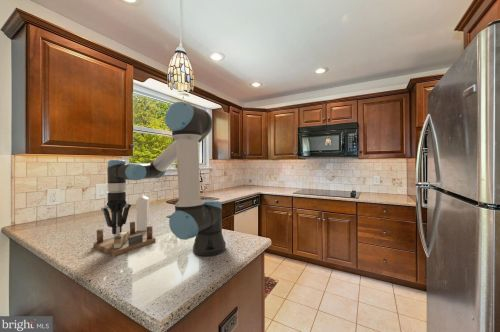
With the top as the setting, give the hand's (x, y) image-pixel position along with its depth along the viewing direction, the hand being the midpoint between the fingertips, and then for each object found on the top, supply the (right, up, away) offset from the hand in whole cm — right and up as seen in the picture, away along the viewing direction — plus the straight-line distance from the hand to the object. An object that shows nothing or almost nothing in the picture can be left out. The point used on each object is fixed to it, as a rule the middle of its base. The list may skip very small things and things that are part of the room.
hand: (116, 240), depth 102 cm
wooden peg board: (+2, -3, +4) cm, 5 cm away
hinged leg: (+3, -1, -1) cm, 4 cm away
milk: (-1, -3, +28) cm, 28 cm away
